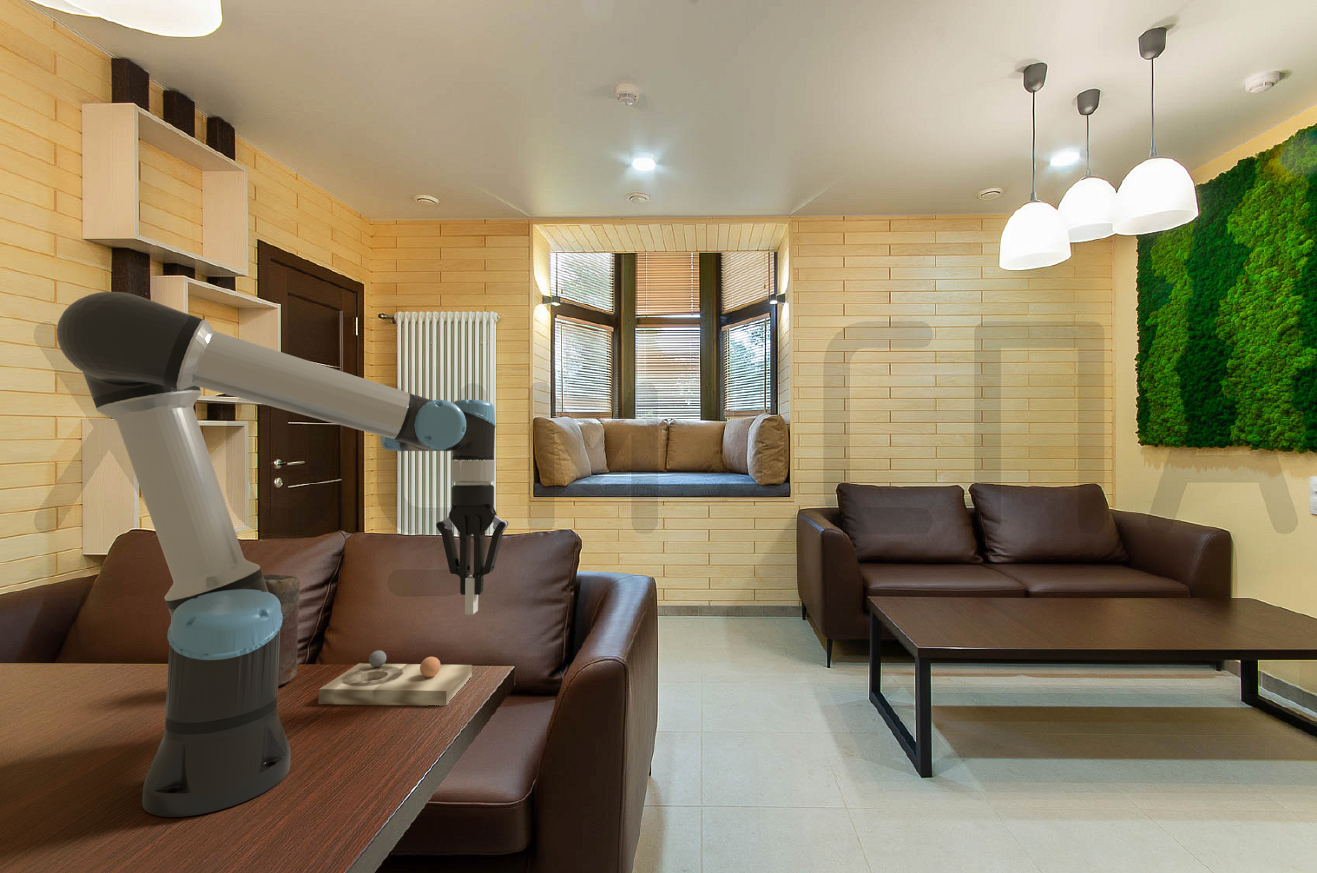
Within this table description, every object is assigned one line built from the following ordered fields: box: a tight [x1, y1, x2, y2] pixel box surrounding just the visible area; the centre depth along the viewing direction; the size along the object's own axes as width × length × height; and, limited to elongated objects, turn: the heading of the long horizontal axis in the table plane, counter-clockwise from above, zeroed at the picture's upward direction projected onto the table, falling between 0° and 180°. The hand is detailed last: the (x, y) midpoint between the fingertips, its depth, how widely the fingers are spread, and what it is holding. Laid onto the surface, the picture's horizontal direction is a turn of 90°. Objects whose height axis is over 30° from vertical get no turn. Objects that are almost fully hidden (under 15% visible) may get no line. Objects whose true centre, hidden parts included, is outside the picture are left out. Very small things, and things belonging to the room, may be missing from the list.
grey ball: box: [368, 649, 387, 667], centre depth 111 cm, size 3×3×3 cm
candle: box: [263, 574, 301, 687], centre depth 109 cm, size 8×7×20 cm
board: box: [318, 662, 473, 707], centre depth 106 cm, size 22×13×2 cm, turn 89°
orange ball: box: [420, 656, 442, 677], centre depth 106 cm, size 4×4×4 cm
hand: (471, 612), depth 107 cm, fingers closed
